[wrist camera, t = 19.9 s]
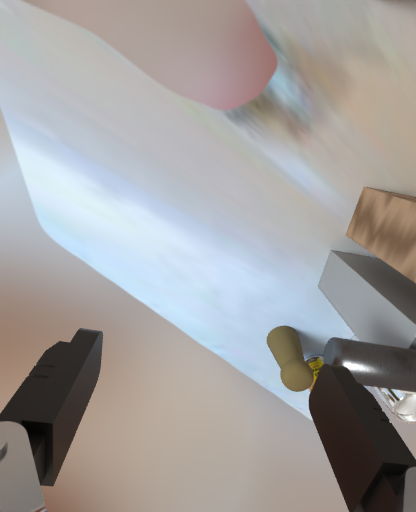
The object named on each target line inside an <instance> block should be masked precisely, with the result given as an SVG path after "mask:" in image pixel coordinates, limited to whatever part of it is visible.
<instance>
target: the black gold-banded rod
mask: <svg viewBox="0 0 416 512" xmlns="http://www.w3.org/2000/svg"><path fill="white" fill-rule="evenodd" d="M324 364H332V365H339V366H345V367H347V368H348V369H349V370H350V372H351V374H352V375H353V377H354V378H355V380H356V382H357V383H360V384H362V385H366V386H373V387H380V388H387V389H394V390H401V391H409V392H416V350H414V349H408V348H401V347H394V346H388V345H381V344H375V343H368V342H362V341H355V340H349V339H342V338H335V337H334V338H331V339H330V340H329V341H328V342H327V344H326V347H325V351H324Z"/></svg>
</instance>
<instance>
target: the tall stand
mask: <svg viewBox="0 0 416 512" xmlns="http://www.w3.org/2000/svg"><path fill="white" fill-rule="evenodd" d="M346 236H348V237H349V238H351V239H352V240H354V241H355V242H356V243H358V244H359V245H361V246H362V247H364V248H365V249H367V250H368V251H370V252H371V253H372V254H374V255H375V256H377V257H378V258H380V259H381V260H383V261H384V262H386V263H387V264H388V265H390V266H391V267H393V268H394V269H396V270H397V271H399V272H400V273H402V274H403V275H404V276H406V277H407V278H409V279H410V280H412V281H413V282H415V283H416V197H412V196H407V195H402V194H397V193H392V192H387V191H382V190H377V189H372V188H367V187H364V188H363V191H362V193H361V196H360V199H359V201H358V204H357V207H356V209H355V212H354V215H353V217H352V220H351V222H350V225H349V228H348V230H347V233H346Z"/></svg>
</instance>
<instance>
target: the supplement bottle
mask: <svg viewBox="0 0 416 512" xmlns="http://www.w3.org/2000/svg"><path fill="white" fill-rule="evenodd" d="M305 362H307V363H308V364H309V365H310V367H311V368H312V370H313V374H314V379H313V383H312V385H311V386H310V387H309V390H310V392H311V390H312V388H313V385H314V383H315V380H316V378H317V376H318V373H319V371H320V369H321V367H322V365H323V364H324V357H322V356H318V355H315V356H311V357H308V358H307V359H306V360H305Z"/></svg>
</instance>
